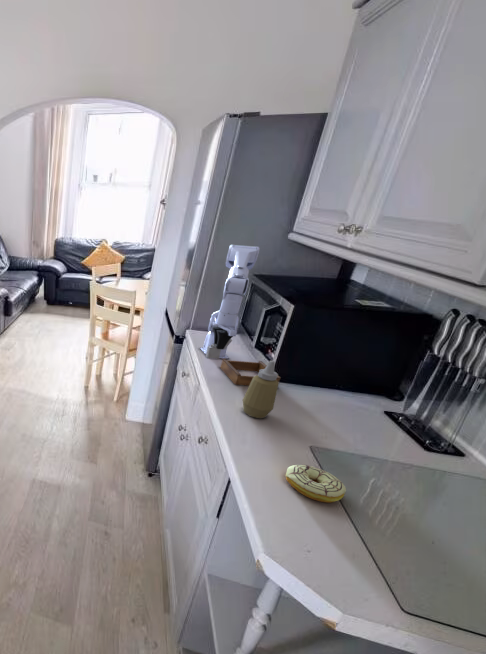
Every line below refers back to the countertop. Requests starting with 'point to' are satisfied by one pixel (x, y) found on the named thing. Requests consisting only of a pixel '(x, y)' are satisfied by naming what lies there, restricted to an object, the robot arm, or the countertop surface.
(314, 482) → the decorated donut
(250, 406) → the squeeze bottle
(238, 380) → the wooden tray
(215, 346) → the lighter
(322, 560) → the countertop surface
